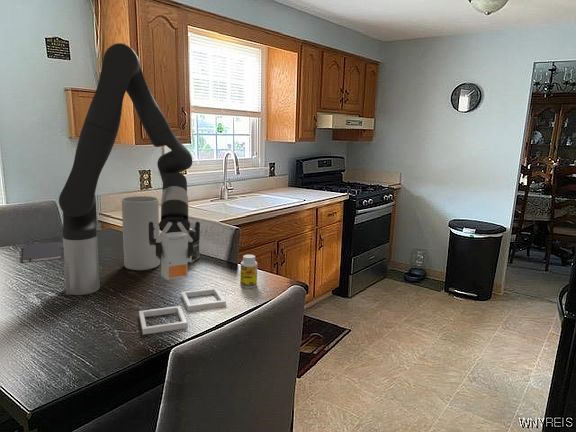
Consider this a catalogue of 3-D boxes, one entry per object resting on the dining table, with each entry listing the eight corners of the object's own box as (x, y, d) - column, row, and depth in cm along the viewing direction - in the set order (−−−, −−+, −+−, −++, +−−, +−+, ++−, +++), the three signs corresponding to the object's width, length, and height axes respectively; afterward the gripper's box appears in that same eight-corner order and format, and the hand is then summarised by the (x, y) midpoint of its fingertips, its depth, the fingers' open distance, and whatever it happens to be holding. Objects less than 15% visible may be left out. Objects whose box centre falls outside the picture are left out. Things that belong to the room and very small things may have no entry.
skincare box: (166, 280, 110) (166, 237, 107) (160, 275, 113) (160, 233, 111) (188, 277, 113) (188, 234, 111) (182, 272, 117) (182, 231, 114)
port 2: (188, 311, 117) (188, 306, 117) (180, 294, 129) (180, 289, 129) (225, 305, 122) (225, 301, 122) (215, 290, 133) (215, 285, 133)
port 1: (142, 334, 103) (142, 329, 103) (138, 313, 115) (138, 308, 115) (187, 327, 108) (187, 322, 107) (179, 307, 119) (179, 302, 119)
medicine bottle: (191, 262, 159) (191, 232, 157) (174, 260, 161) (174, 230, 158) (199, 257, 166) (199, 228, 164) (182, 255, 167) (182, 226, 165)
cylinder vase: (116, 267, 150) (113, 199, 145) (140, 258, 162) (138, 195, 157) (144, 273, 146) (142, 203, 141) (167, 263, 157) (165, 198, 152)
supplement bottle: (237, 287, 137) (237, 257, 135) (244, 281, 142) (244, 252, 140) (253, 289, 135) (253, 259, 133) (259, 283, 140) (260, 254, 138)
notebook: (61, 259, 158) (59, 245, 176) (61, 255, 158) (58, 241, 176) (22, 263, 152) (23, 248, 169) (22, 259, 151) (23, 245, 169)
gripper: (147, 198, 114) (145, 251, 106) (200, 198, 118) (202, 250, 109) (149, 213, 120) (147, 264, 112) (199, 213, 124) (201, 262, 115)
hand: (174, 257), depth 110 cm, fingers closed on skincare box, 7 cm apart
